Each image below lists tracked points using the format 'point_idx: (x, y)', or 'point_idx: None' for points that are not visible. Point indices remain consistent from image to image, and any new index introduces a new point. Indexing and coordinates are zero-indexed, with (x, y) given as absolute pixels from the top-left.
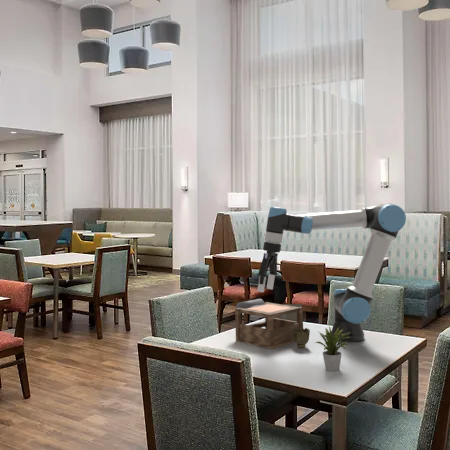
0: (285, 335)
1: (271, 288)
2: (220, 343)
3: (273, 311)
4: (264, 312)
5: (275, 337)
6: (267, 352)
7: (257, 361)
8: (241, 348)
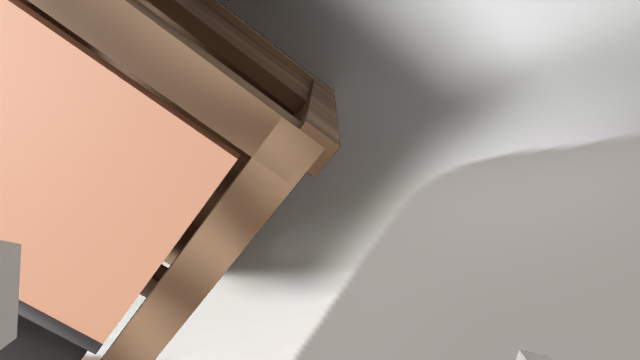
0: (210, 14)
1: (8, 267)
2: (252, 323)
3: (180, 129)
4: (239, 203)
5: (289, 76)
6: (400, 103)
7: (563, 135)
8: (330, 231)
